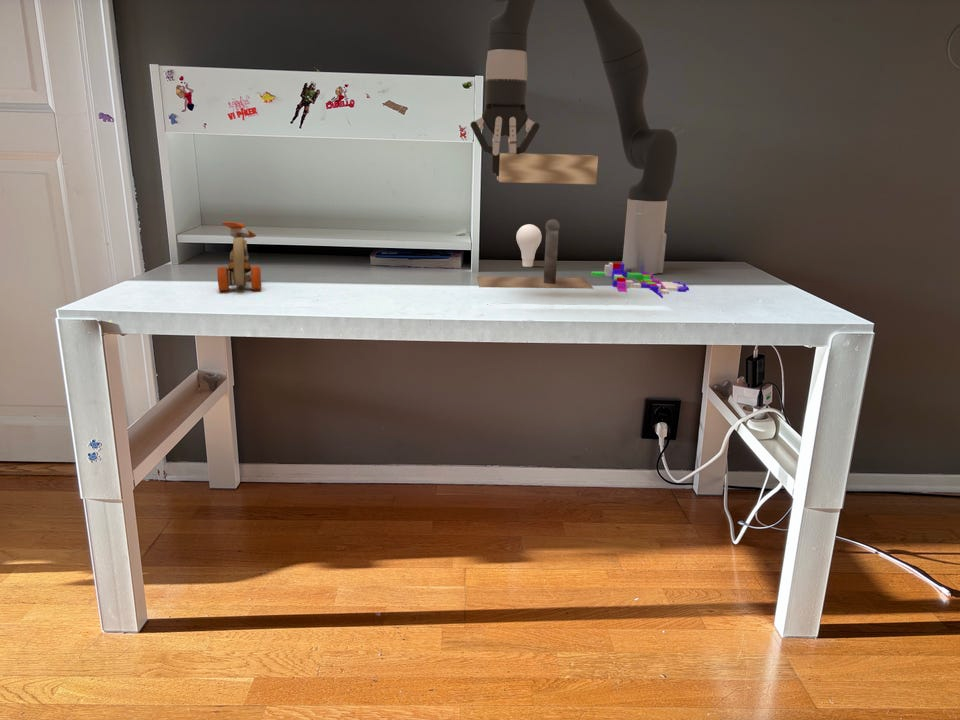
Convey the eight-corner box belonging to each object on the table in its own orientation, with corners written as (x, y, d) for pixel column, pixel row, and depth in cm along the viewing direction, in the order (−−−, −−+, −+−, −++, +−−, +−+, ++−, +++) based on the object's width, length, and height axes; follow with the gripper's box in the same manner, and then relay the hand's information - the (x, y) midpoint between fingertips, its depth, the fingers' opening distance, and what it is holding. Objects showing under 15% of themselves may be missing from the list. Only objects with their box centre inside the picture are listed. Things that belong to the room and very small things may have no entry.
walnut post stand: (583, 282, 158) (587, 217, 153) (593, 293, 147) (598, 223, 143) (476, 281, 156) (478, 215, 152) (479, 291, 146) (480, 221, 142)
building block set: (696, 302, 144) (699, 280, 142) (595, 298, 145) (597, 277, 144) (675, 278, 167) (677, 260, 166) (589, 275, 169) (590, 257, 168)
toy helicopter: (218, 294, 138) (211, 224, 134) (224, 274, 157) (218, 212, 153) (261, 293, 140) (256, 223, 136) (262, 273, 159) (257, 212, 155)
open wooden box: (587, 181, 139) (589, 155, 138) (596, 184, 131) (598, 156, 129) (496, 179, 138) (497, 152, 137) (499, 182, 130) (500, 154, 128)
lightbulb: (532, 273, 167) (534, 226, 164) (510, 270, 170) (512, 224, 167) (544, 269, 172) (546, 224, 169) (522, 266, 175) (524, 222, 172)
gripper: (541, 81, 132) (536, 175, 138) (468, 79, 132) (466, 174, 137) (546, 78, 125) (541, 178, 131) (469, 75, 125) (467, 176, 130)
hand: (503, 175), depth 134 cm, fingers closed on open wooden box
